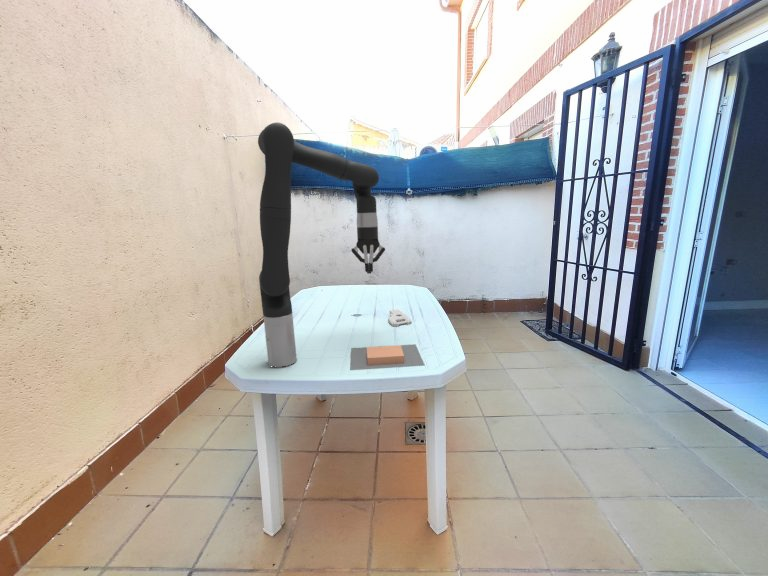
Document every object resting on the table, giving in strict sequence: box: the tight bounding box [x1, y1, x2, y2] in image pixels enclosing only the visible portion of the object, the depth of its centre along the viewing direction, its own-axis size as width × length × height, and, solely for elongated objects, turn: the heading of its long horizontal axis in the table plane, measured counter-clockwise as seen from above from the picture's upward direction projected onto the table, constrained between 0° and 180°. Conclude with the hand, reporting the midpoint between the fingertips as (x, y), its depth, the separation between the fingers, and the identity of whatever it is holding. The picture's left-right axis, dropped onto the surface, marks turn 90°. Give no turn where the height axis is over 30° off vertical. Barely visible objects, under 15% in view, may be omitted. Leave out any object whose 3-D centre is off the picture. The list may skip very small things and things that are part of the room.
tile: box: [367, 344, 404, 365], centre depth 116 cm, size 12×2×9 cm
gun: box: [387, 309, 413, 328], centre depth 157 cm, size 18×3×10 cm
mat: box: [349, 344, 425, 371], centre depth 118 cm, size 24×18×1 cm
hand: (369, 273), depth 127 cm, fingers closed
